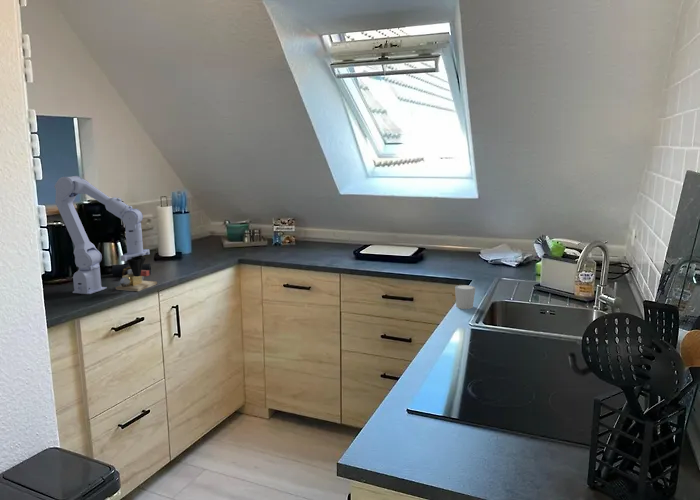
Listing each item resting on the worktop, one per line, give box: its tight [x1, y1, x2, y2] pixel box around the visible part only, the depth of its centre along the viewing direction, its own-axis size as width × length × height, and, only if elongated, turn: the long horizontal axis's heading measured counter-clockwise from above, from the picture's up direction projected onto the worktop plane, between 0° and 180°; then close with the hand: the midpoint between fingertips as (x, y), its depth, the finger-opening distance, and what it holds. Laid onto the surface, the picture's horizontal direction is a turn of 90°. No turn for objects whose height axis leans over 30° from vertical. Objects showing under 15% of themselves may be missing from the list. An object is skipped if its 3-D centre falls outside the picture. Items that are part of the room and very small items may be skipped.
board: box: [115, 280, 158, 292], centre depth 215 cm, size 12×10×1 cm
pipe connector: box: [111, 263, 152, 278], centre depth 232 cm, size 12×5×15 cm
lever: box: [128, 269, 150, 277], centre depth 214 cm, size 9×3×2 cm, turn 73°
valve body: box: [119, 275, 145, 287], centre depth 215 cm, size 10×5×4 cm, turn 163°
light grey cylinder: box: [454, 284, 476, 310], centre depth 186 cm, size 7×7×7 cm
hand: (137, 275), depth 209 cm, fingers closed
